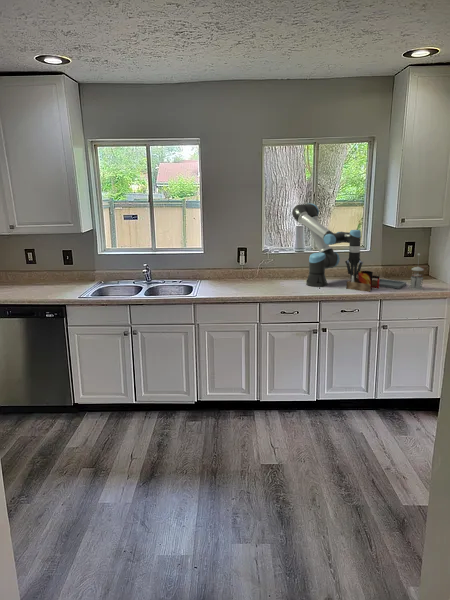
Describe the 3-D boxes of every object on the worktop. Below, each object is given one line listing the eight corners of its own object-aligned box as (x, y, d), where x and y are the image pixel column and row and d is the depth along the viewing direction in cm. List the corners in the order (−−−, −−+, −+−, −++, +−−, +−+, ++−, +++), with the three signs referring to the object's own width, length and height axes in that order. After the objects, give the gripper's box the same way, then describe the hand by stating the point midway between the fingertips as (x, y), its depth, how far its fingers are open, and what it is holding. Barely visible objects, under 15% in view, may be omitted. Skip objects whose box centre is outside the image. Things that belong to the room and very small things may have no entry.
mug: (379, 290, 301) (380, 273, 298) (358, 290, 303) (359, 273, 300) (376, 287, 310) (377, 270, 307) (356, 286, 312) (357, 270, 309)
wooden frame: (346, 288, 308) (346, 281, 307) (355, 284, 320) (355, 277, 319) (369, 291, 298) (370, 284, 296) (378, 287, 310) (378, 280, 308)
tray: (371, 285, 315) (371, 282, 314) (379, 281, 327) (379, 278, 326) (398, 289, 302) (399, 286, 302) (406, 284, 314) (406, 281, 314)
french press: (424, 287, 305) (427, 252, 298) (422, 291, 296) (425, 255, 289) (409, 286, 310) (412, 251, 303) (407, 289, 300) (410, 254, 294)
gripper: (343, 251, 308) (342, 283, 314) (361, 253, 300) (359, 285, 306) (348, 250, 313) (346, 281, 319) (365, 251, 305) (363, 283, 311)
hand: (353, 283), depth 313 cm, fingers closed
